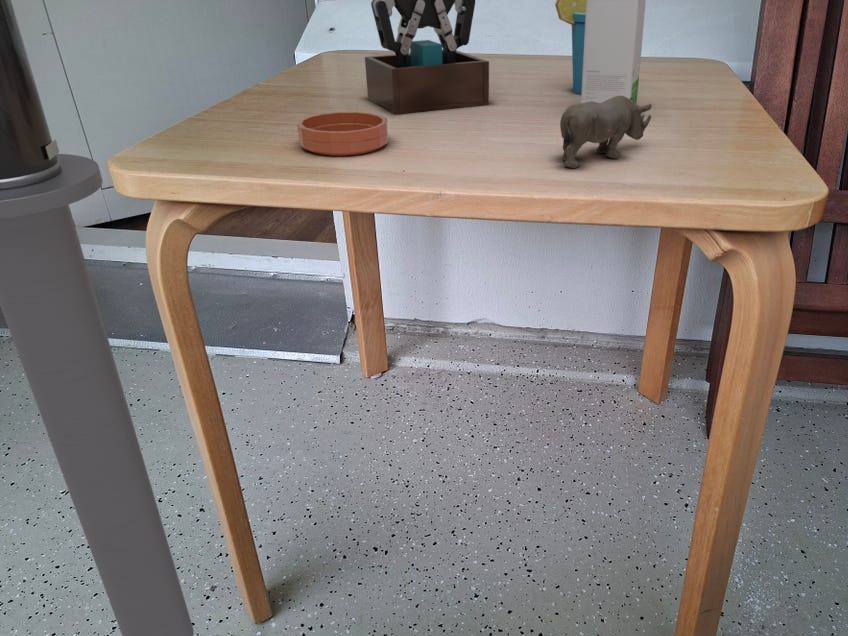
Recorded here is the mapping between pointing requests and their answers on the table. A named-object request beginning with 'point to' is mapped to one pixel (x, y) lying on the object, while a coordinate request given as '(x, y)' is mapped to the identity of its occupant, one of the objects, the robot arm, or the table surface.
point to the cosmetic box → (612, 49)
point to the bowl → (343, 133)
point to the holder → (427, 84)
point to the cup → (575, 35)
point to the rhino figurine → (601, 126)
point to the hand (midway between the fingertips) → (426, 81)
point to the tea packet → (425, 53)
